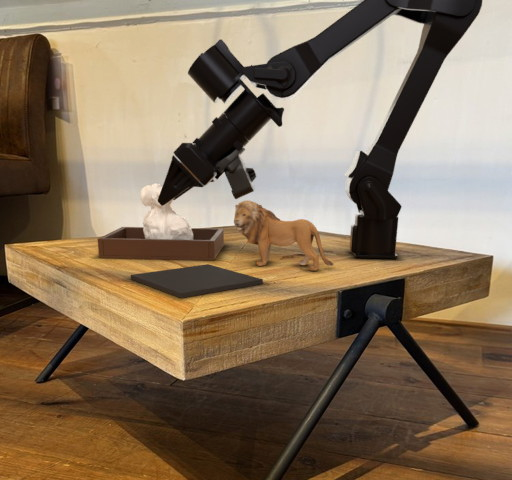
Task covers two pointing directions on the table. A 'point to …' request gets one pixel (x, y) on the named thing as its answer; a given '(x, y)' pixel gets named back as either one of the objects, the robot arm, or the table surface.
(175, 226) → the bust
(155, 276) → the charcoal mat
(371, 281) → the table surface
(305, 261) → the lion figurine
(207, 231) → the walnut tray
